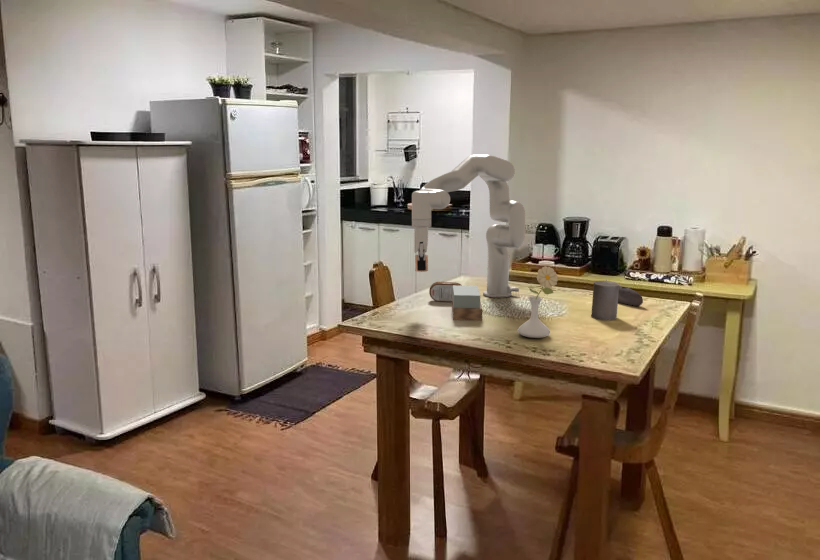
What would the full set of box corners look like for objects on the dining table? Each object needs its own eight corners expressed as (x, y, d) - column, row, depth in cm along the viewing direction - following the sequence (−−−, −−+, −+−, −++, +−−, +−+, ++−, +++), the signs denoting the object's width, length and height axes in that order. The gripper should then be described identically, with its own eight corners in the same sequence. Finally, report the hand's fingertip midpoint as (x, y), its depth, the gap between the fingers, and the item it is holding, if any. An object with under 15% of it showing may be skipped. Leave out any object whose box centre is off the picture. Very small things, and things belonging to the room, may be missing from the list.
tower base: (478, 309, 273) (479, 297, 272) (482, 321, 254) (482, 308, 253) (452, 309, 273) (452, 297, 272) (453, 321, 255) (453, 308, 254)
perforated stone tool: (646, 307, 277) (647, 291, 276) (637, 309, 275) (638, 292, 273) (619, 300, 290) (620, 284, 289) (610, 301, 288) (611, 285, 286)
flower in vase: (519, 340, 228) (522, 268, 223) (515, 331, 240) (518, 262, 235) (557, 341, 228) (561, 269, 223) (552, 332, 239) (555, 263, 234)
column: (427, 269, 264) (427, 254, 263) (427, 271, 260) (427, 256, 258) (415, 269, 265) (415, 254, 263) (415, 271, 260) (415, 256, 258)
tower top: (477, 297, 272) (477, 285, 271) (480, 308, 254) (480, 295, 253) (452, 297, 272) (452, 285, 271) (453, 307, 254) (454, 295, 253)
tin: (464, 301, 285) (464, 282, 284) (464, 303, 282) (464, 283, 281) (429, 300, 287) (429, 281, 285) (428, 301, 284) (429, 282, 282)
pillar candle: (586, 315, 263) (588, 278, 260) (606, 313, 267) (608, 276, 264) (601, 321, 254) (604, 283, 251) (622, 319, 258) (625, 281, 255)
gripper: (412, 220, 267) (412, 264, 270) (411, 225, 250) (411, 273, 254) (431, 220, 266) (431, 264, 270) (431, 225, 250) (431, 273, 253)
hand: (421, 268), depth 262 cm, fingers closed on column, 5 cm apart
